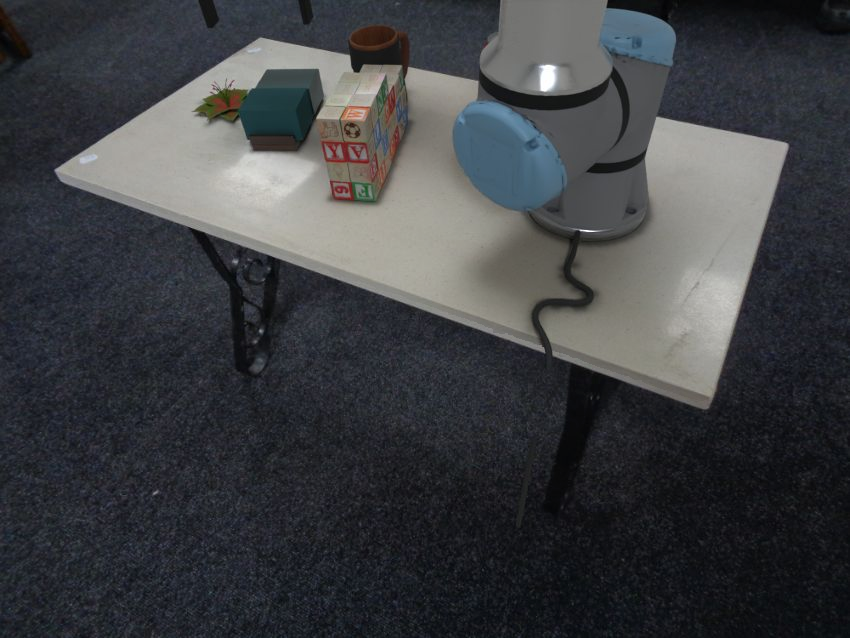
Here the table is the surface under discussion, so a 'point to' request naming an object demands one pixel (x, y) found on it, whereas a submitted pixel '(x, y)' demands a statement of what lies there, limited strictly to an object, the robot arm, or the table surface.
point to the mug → (379, 48)
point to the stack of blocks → (363, 130)
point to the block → (276, 112)
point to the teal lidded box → (287, 80)
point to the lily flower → (223, 102)
